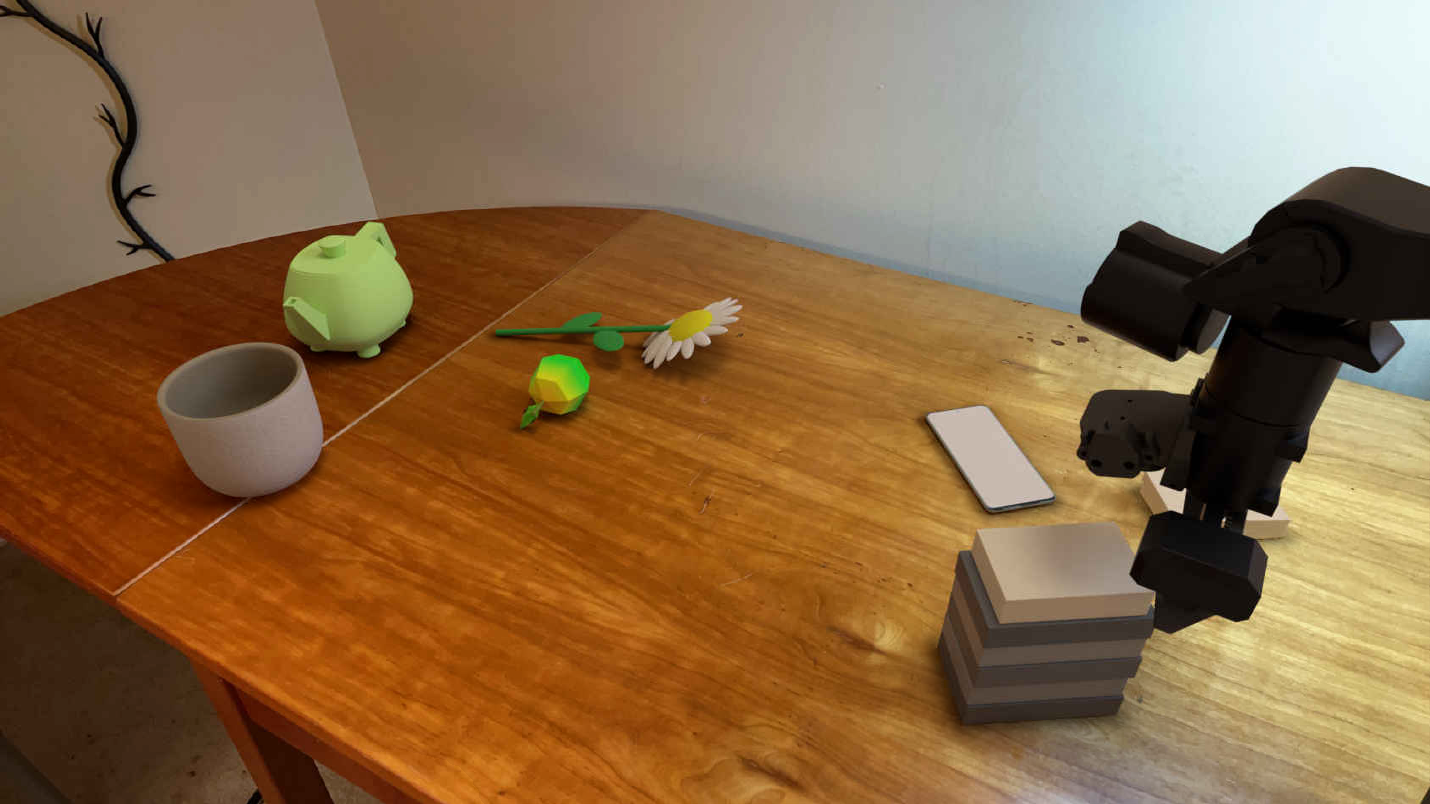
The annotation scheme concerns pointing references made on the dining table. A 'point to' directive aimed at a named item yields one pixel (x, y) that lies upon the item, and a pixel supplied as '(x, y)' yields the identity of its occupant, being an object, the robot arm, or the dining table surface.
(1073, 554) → the cream block
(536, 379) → the apple
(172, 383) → the planter
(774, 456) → the dining table surface
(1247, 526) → the beige rectangular slab
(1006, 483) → the smartphone
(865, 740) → the dining table surface
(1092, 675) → the grey stack
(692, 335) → the decorative flower
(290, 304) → the teapot
